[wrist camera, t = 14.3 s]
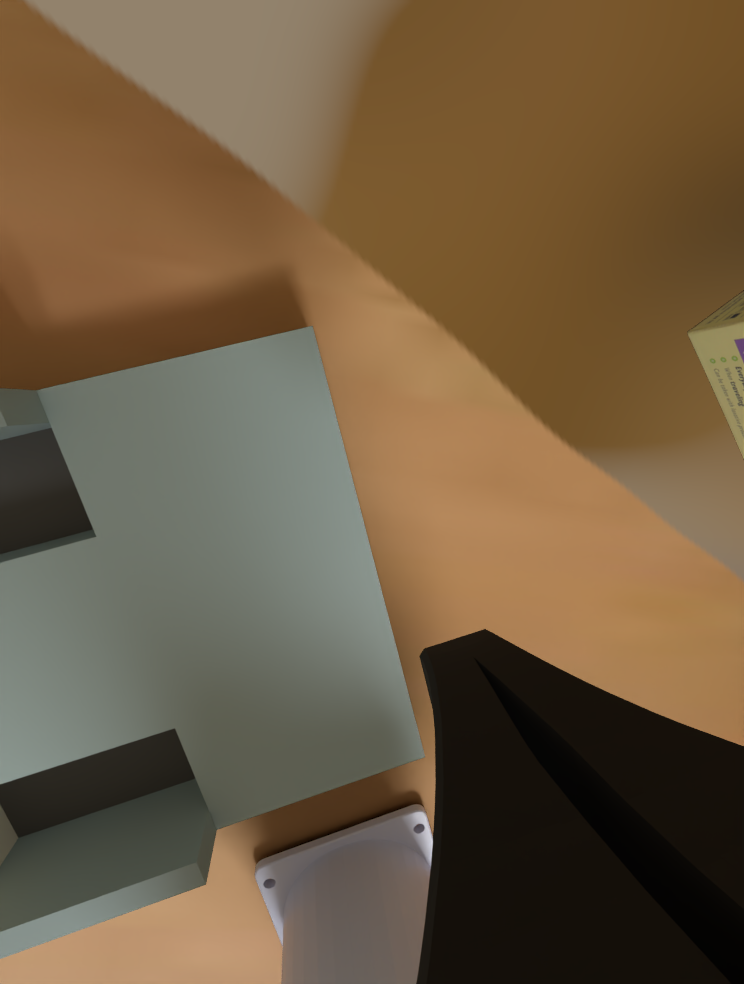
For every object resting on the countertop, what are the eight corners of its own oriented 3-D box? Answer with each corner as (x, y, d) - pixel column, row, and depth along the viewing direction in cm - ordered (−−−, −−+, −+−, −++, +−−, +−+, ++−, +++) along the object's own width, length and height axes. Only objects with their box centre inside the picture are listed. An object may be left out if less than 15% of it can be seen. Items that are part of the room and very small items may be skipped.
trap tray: (412, 722, 20) (440, 799, 16) (-181, 924, 17) (-321, 1074, 13) (310, 335, 16) (314, 312, 12) (-471, 519, 13) (-785, 566, 10)
